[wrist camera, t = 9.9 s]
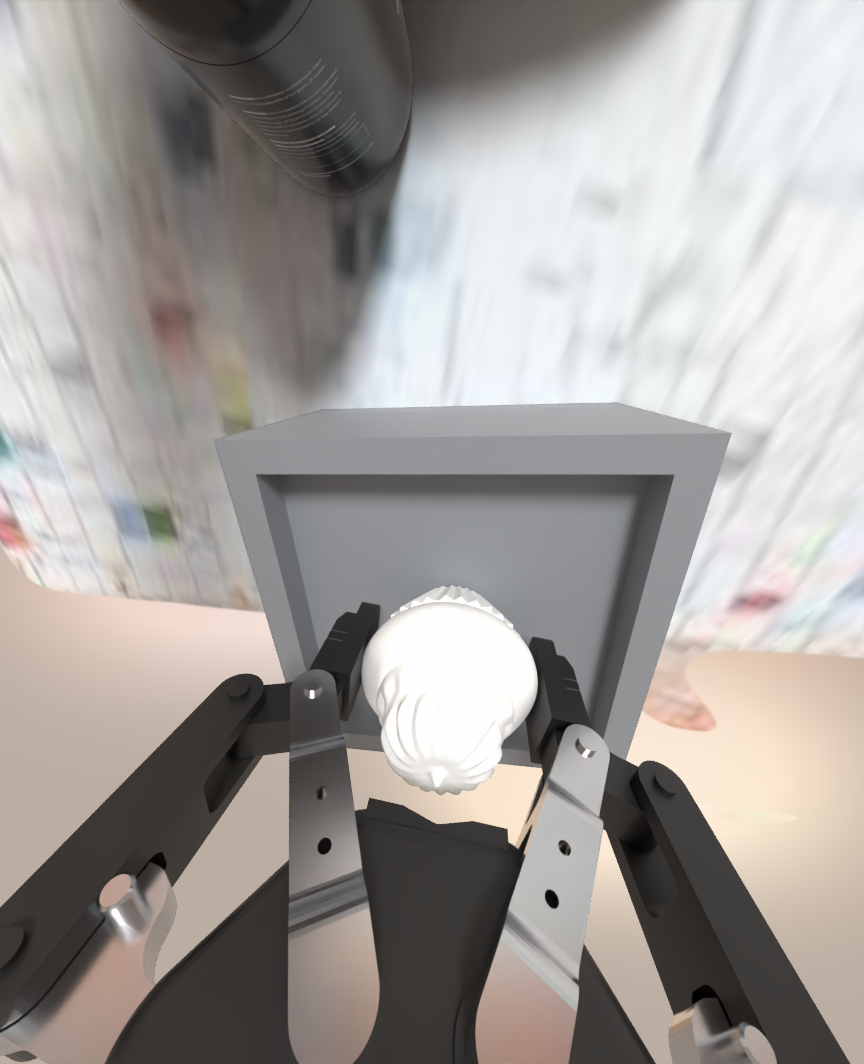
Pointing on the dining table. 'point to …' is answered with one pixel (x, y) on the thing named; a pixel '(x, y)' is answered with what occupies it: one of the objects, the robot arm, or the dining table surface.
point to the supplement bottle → (299, 78)
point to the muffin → (448, 688)
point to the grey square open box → (481, 532)
